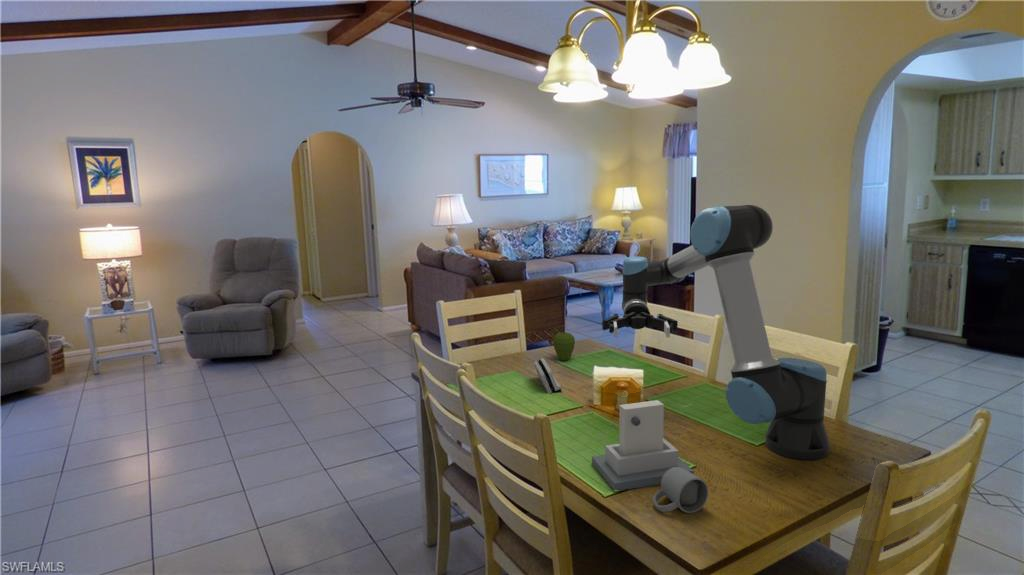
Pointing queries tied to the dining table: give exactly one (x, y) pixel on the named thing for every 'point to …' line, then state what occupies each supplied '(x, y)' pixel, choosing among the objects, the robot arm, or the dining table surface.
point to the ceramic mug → (681, 491)
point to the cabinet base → (637, 466)
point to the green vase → (564, 345)
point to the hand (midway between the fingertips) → (641, 332)
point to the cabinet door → (641, 428)
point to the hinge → (546, 376)
